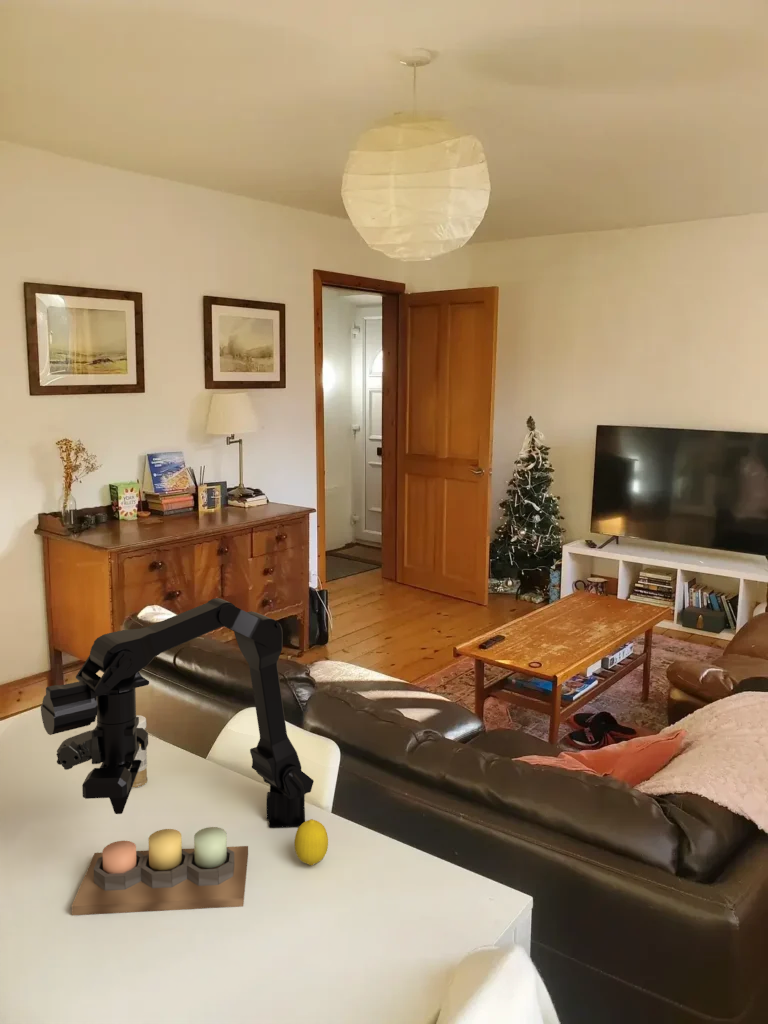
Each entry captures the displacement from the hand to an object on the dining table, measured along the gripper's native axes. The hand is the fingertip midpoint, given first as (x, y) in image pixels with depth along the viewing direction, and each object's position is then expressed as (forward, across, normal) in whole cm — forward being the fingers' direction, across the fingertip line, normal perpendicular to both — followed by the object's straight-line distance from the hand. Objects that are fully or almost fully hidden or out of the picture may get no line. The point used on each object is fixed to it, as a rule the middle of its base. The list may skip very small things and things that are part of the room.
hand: (119, 812), depth 123 cm
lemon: (+12, -2, +30) cm, 32 cm away
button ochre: (+8, 0, +7) cm, 11 cm away
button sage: (+8, 0, +14) cm, 16 cm away
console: (+12, 0, +7) cm, 14 cm away
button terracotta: (+10, 0, 0) cm, 10 cm away
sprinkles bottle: (+12, -34, -4) cm, 36 cm away
